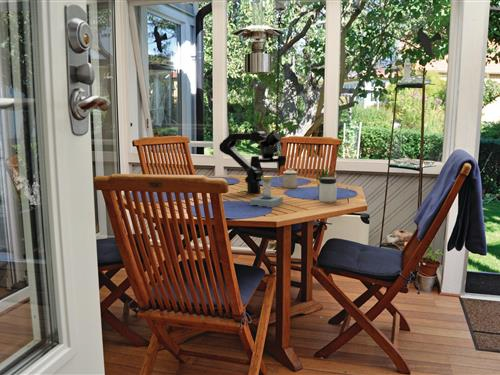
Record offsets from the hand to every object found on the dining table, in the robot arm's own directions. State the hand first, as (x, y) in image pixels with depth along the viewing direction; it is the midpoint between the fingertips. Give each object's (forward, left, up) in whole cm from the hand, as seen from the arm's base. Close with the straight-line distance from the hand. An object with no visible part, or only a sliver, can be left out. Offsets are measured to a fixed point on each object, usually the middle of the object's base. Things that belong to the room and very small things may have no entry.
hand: (270, 173), depth 252 cm
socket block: (+5, -15, -14) cm, 21 cm away
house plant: (+22, +19, -14) cm, 33 cm away
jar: (+29, +7, -14) cm, 33 cm away
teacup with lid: (-8, +38, -14) cm, 42 cm away
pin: (+5, -14, -14) cm, 20 cm away
